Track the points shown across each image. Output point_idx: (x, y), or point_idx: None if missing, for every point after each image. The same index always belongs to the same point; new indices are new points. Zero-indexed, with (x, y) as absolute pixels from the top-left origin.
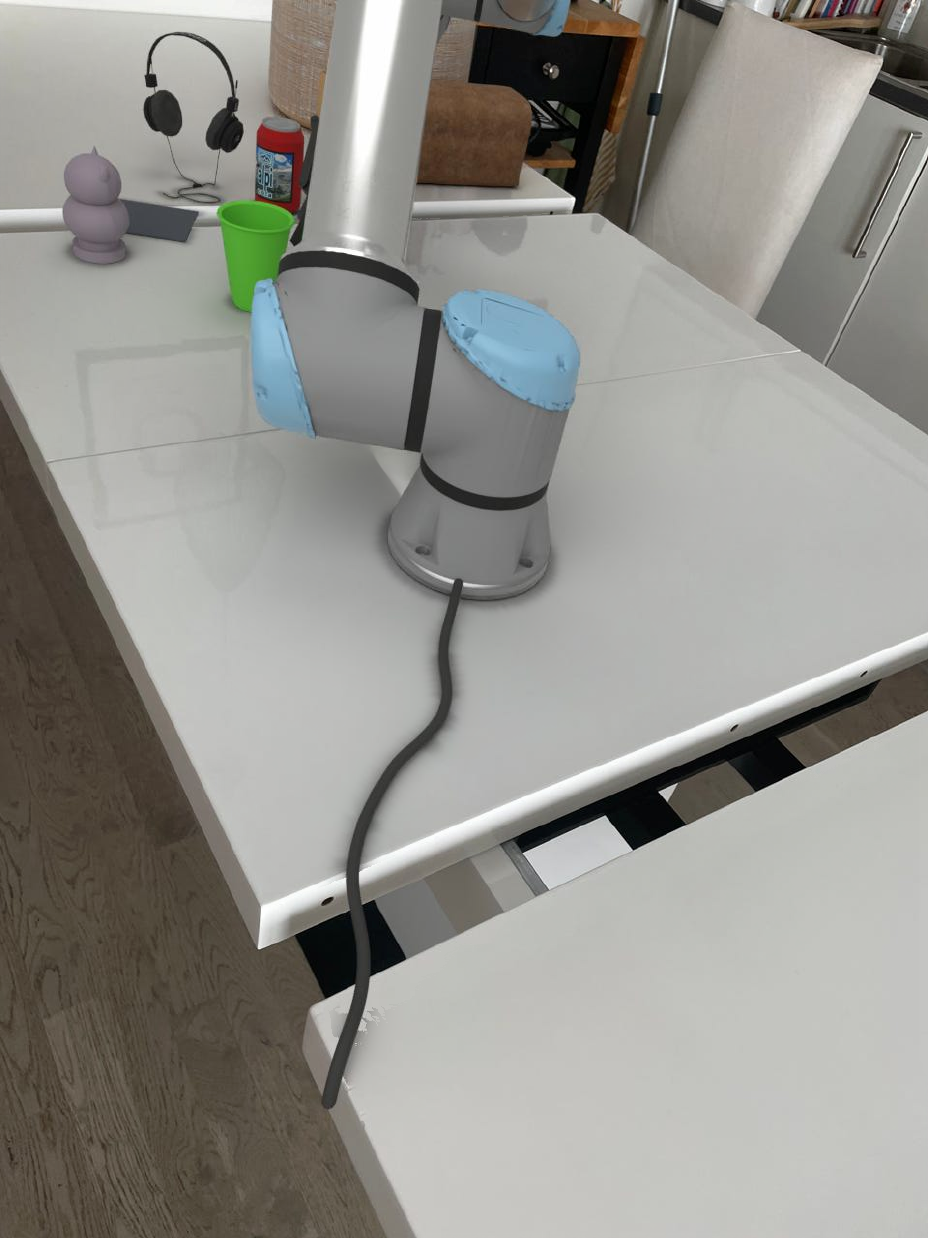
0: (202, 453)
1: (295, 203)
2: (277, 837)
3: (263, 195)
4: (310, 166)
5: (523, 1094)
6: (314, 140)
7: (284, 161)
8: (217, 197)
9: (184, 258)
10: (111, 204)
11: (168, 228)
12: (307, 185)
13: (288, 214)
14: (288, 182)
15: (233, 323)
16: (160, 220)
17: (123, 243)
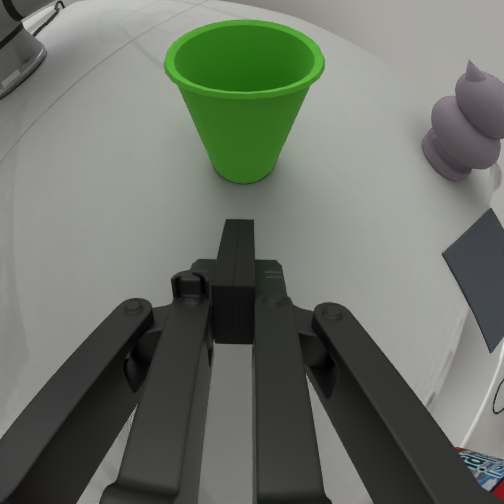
0: (147, 24)
1: None
2: (74, 5)
3: (460, 452)
4: (350, 365)
5: (32, 19)
6: (436, 470)
7: None
8: (498, 412)
9: (404, 208)
10: (459, 109)
11: (474, 268)
12: (310, 323)
13: (199, 87)
14: None
15: None
16: (491, 280)
17: (444, 163)
